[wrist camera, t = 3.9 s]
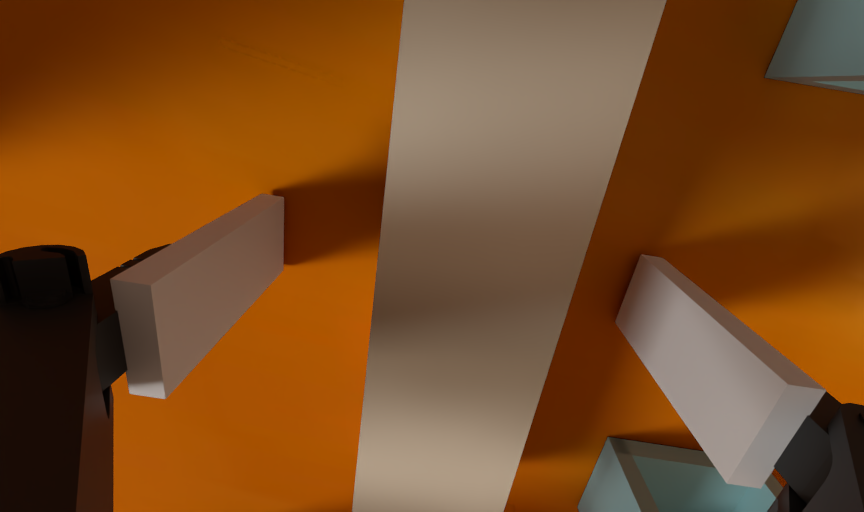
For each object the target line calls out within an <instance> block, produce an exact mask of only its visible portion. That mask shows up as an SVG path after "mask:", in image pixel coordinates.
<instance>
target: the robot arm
mask: <svg viewBox="0 0 864 512" xmlns="http://www.w3.org/2000/svg"><path fill="white" fill-rule="evenodd" d="M283 263H284V197H281V196H274V195H268V194H260V195H258V196H256V197H255V198H253V199H251V200H249V201H248V202H246V203H244V204H242V205H240V206H239V207H237V208H235V209H233V210H232V211H230V212H228V213H226V214H224V215H223V216H221V217H219V218H217V219H216V220H214V221H212V222H210V223H208V224H207V225H205V226H203V227H201V228H200V229H198V230H196V231H194V232H192V233H191V234H189V235H187V236H185V237H184V238H182V239H180V240H178V241H176V242H175V243H173V244H168V245H164V246H161V247H157V248H153V249H150V250H148V251H146V252H144V253H142V254H140V255H138V256H136V257H135V258H134V259H133V260H129V261H127V262H125V263H123V264H122V265H121V267H116V268H114V269H112V270H111V271H109V272H107V273H105V274H103V275H101V276H99V277H98V278H96V279H94V280H92V281H91V279H90V274H89V269H88V264H87V259H86V255H85V253H84V251H83V250H81V249H79V248H76V247H72V246H65V245H40V246H31V247H23V248H19V249H15V250H11V251H6V252H4V253H1V254H0V512H113V393H112V388H111V384H112V383H113V382H114V381H115V380H117V379H118V378H119V377H120V376H121V375H122V374H123V373H125V372H126V375H127V381H128V387H129V393H130V394H135V395H142V396H148V397H155V398H162V399H166V398H167V397H168V396H169V395H170V394H171V393H172V391H173V390H174V389H175V388H176V387H177V386H178V385H179V384H180V383H181V382H182V380H183V379H184V378H185V377H186V376H187V375H188V374H189V373H190V372H191V371H192V370H193V368H194V367H195V366H196V365H197V364H198V363H199V362H200V361H201V360H202V359H203V358H204V356H205V355H206V354H207V353H208V352H209V351H210V350H211V349H212V348H213V347H214V346H215V344H216V343H217V342H218V341H219V340H220V339H221V338H222V337H223V336H224V335H225V333H226V332H227V331H228V330H229V329H230V328H231V327H232V326H233V325H234V324H235V323H236V321H237V320H238V319H239V318H240V317H241V316H242V315H243V314H244V313H245V312H246V311H247V309H248V308H249V307H250V306H251V305H252V304H253V303H254V302H255V301H256V300H257V299H258V297H259V296H260V295H261V294H262V293H263V292H264V291H265V290H266V289H267V288H268V286H269V285H270V284H271V283H272V282H273V281H274V280H275V279H276V278H277V277H278V276H279V274H280V273H281V272H282V271H283ZM615 323H616V325H617V326H618V328H619V329H620V330H621V332H622V333H623V335H624V336H625V338H626V339H627V340H628V342H629V343H630V345H631V346H632V348H633V349H634V351H635V352H636V353H637V355H638V356H639V358H640V359H641V361H642V362H643V364H644V365H645V366H646V368H647V369H648V371H649V372H650V374H651V375H652V377H653V378H654V379H655V381H656V382H657V384H658V385H659V387H660V388H661V390H662V391H663V392H664V394H665V395H666V397H667V398H668V400H669V401H670V403H671V404H672V405H673V407H674V408H675V410H676V411H677V413H678V414H679V416H680V417H681V418H682V420H683V421H684V423H685V424H686V426H687V427H688V429H689V430H690V431H691V433H692V434H693V436H694V437H695V439H696V440H697V441H698V443H699V444H700V446H701V447H702V449H703V450H704V452H705V453H706V454H707V456H708V457H709V459H710V460H711V462H712V463H713V465H714V466H715V467H716V469H717V470H718V472H719V473H720V475H721V476H722V478H723V479H724V480H725V482H726V483H727V484H733V485H739V486H746V487H753V488H759V489H761V487H762V486H763V484H764V483H765V481H766V480H767V478H768V477H769V475H770V474H771V472H772V471H773V470H774V468H775V469H776V470H777V471H778V472H779V473H780V475H781V476H782V477H783V478H784V479H785V480H786V482H787V484H786V485H785V486H784V488H783V489H782V491H781V492H780V494H779V495H778V496H777V498H776V499H775V501H774V502H773V504H772V505H771V506H770V508H769V509H768V511H767V512H864V406H863V405H858V404H853V403H846V404H841V403H840V402H839V401H837V400H836V399H835V398H834V397H832V396H831V395H830V394H829V393H828V392H826V390H825V389H824V388H823V387H822V386H820V385H819V384H818V383H817V382H815V381H814V380H813V379H812V378H811V377H809V376H808V375H807V374H806V373H804V372H803V371H802V370H801V369H799V368H798V367H797V366H796V365H795V364H793V363H792V362H791V361H790V360H788V359H787V358H786V357H785V356H783V355H782V354H781V353H780V352H778V351H777V350H776V349H775V348H774V347H772V346H771V345H770V344H769V343H767V342H766V341H765V340H764V339H762V338H761V337H760V336H759V335H757V334H756V333H755V332H754V331H753V330H751V329H750V328H749V327H748V326H746V325H745V324H744V323H743V322H741V321H740V320H739V319H738V318H736V317H735V316H734V315H733V314H732V313H730V312H729V311H728V310H727V309H725V308H724V307H723V306H722V305H720V304H719V303H718V302H717V301H715V300H714V299H713V298H712V297H711V296H709V295H708V294H707V293H706V292H704V291H703V290H702V289H701V288H699V287H698V286H697V285H696V284H694V283H693V282H692V281H691V280H690V279H688V278H687V277H686V276H685V275H683V274H682V273H681V272H680V271H678V270H677V269H676V268H675V267H673V266H672V265H671V264H670V263H669V262H667V261H666V260H665V259H664V258H661V257H655V256H649V255H642V254H641V255H640V258H639V261H638V263H637V266H636V268H635V271H634V274H633V276H632V279H631V281H630V284H629V287H628V289H627V292H626V294H625V297H624V300H623V302H622V305H621V308H620V310H619V313H618V315H617V318H616V321H615Z"/></svg>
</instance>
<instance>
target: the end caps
mask: <svg viewBox="0 0 864 512" xmlns="http://www.w3.org/2000/svg"><path fill="white" fill-rule="evenodd" d="M764 78H769V79H775V80H781V81H787V82H793V83H799V84H804V85H810V86H816V87H822V88H828V89H834V90H840V91H846V92H851V93H857V94H863V95H864V0H798V1H797V3H796V6H795V8H794V10H793V12H792V15H791V17H790V19H789V22H788V24H787V26H786V29H785V31H784V33H783V35H782V38H781V40H780V42H779V45H778V47H777V49H776V52H775V54H774V56H773V58H772V61H771V63H770V65H769V68H768V70H767V72H766V75H765V77H764ZM782 489H783V487H782V486H781V484H780V483H779V482H778V481H777V479H776V478H775V477H774V476H773V475H772V473H771V474H770V475H769V477H768V478H767V480H766V481H765V483H764V484H763V486H762V487H761V489H759V488H753V487H746V486H739V485H733V484H727V483H726V482H725V480H724V479H723V478H722V476H721V475H720V473H719V472H718V470H717V469H716V467H715V466H714V465H713V463H712V462H711V460H710V459H709V457H708V456H707V454H706V453H705V452H704V451H698V450H691V449H685V448H678V447H671V446H665V445H658V444H652V443H645V442H638V441H632V440H625V439H619V438H612V437H608V438H607V440H606V442H605V445H604V447H603V449H602V452H601V454H600V456H599V458H598V461H597V463H596V465H595V468H594V470H593V472H592V475H591V477H590V479H589V481H588V484H587V486H586V488H585V491H584V493H583V495H582V498H581V500H580V502H579V504H578V510H579V512H767V511H768V509H769V508H770V506H771V505H772V504H773V502H774V501H775V499H776V498H777V496H778V495H779V494H780V492H781V491H782Z"/></svg>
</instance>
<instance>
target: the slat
mask: <svg viewBox="0 0 864 512" xmlns="http://www.w3.org/2000/svg"><path fill="white" fill-rule="evenodd" d="M666 1H667V0H404V7H403V17H402V27H401V37H400V47H399V56H398V66H397V76H396V86H395V96H394V105H393V115H392V125H391V135H390V145H389V154H388V164H387V174H386V184H385V194H384V203H383V213H382V223H381V233H380V243H379V252H378V262H377V272H376V282H375V292H374V301H373V311H372V321H371V331H370V341H369V350H368V360H367V370H366V380H365V390H364V399H363V409H362V419H361V429H360V439H359V448H358V458H357V468H356V478H355V488H354V497H353V507H352V512H503V511H504V508H505V505H506V502H507V499H508V496H509V493H510V489H511V486H512V483H513V480H514V477H515V474H516V471H517V468H518V464H519V461H520V458H521V455H522V452H523V449H524V446H525V442H526V439H527V436H528V433H529V430H530V427H531V424H532V421H533V417H534V414H535V411H536V408H537V405H538V402H539V399H540V395H541V392H542V389H543V386H544V383H545V380H546V377H547V374H548V370H549V367H550V364H551V361H552V358H553V355H554V352H555V348H556V345H557V342H558V339H559V336H560V333H561V330H562V327H563V323H564V320H565V317H566V314H567V311H568V308H569V305H570V301H571V298H572V295H573V292H574V289H575V286H576V283H577V280H578V276H579V273H580V270H581V267H582V264H583V261H584V258H585V254H586V251H587V248H588V245H589V242H590V239H591V236H592V233H593V229H594V226H595V223H596V220H597V217H598V214H599V211H600V207H601V204H602V201H603V198H604V195H605V192H606V189H607V186H608V182H609V179H610V176H611V173H612V170H613V167H614V164H615V161H616V157H617V154H618V151H619V148H620V145H621V142H622V139H623V135H624V132H625V129H626V126H627V123H628V120H629V117H630V114H631V110H632V107H633V104H634V101H635V98H636V95H637V92H638V88H639V85H640V82H641V79H642V76H643V73H644V70H645V67H646V63H647V60H648V57H649V54H650V51H651V48H652V45H653V41H654V38H655V35H656V32H657V29H658V26H659V23H660V20H661V16H662V13H663V10H664V7H665V4H666Z"/></svg>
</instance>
